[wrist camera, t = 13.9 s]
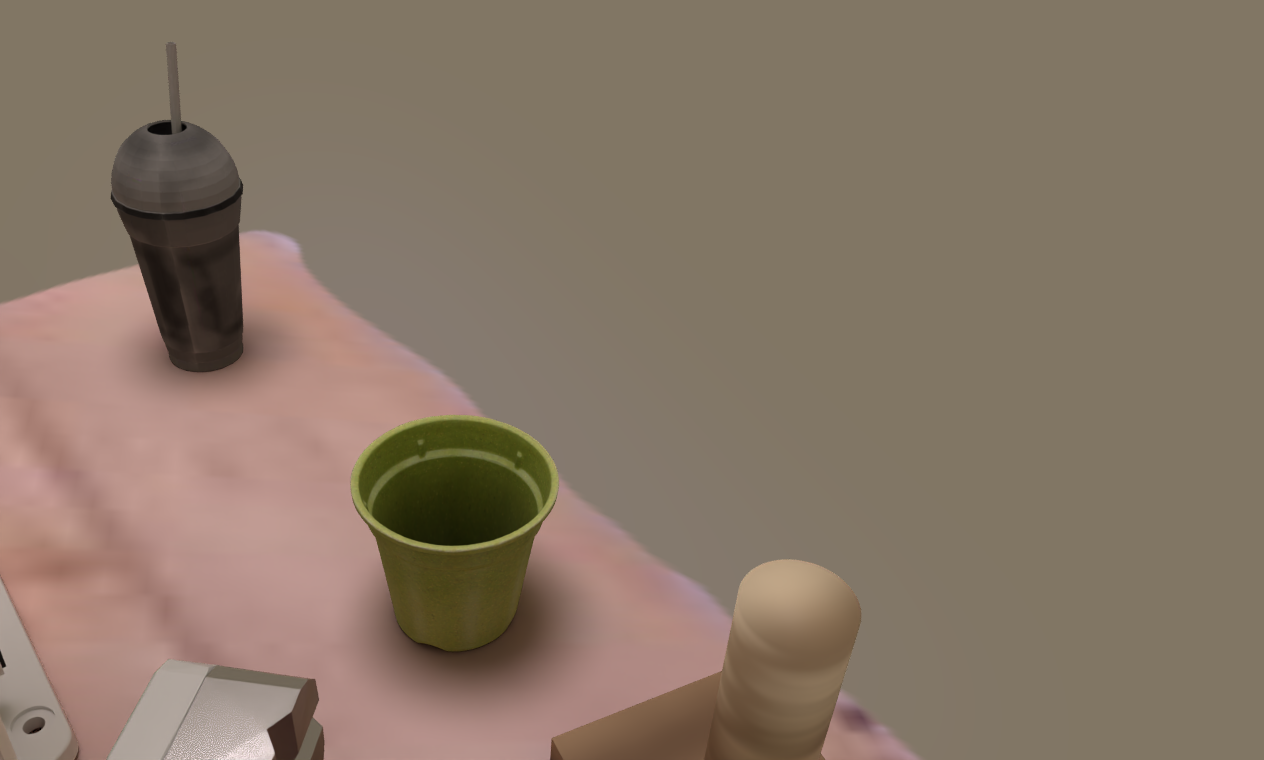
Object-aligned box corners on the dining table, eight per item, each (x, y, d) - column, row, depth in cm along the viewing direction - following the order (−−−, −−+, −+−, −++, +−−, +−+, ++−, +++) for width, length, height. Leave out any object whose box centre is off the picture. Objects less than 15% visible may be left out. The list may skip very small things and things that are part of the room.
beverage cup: (120, 357, 69) (48, 48, 57) (210, 309, 74) (160, 17, 62) (202, 398, 66) (143, 83, 55) (289, 345, 71) (252, 47, 60)
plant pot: (500, 519, 60) (502, 394, 55) (584, 637, 54) (595, 507, 48) (335, 576, 55) (321, 446, 50) (406, 711, 49) (398, 577, 44)
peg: (664, 850, 45) (714, 580, 35) (745, 813, 46) (813, 546, 37) (715, 938, 42) (784, 669, 33) (799, 895, 44) (886, 628, 34)
